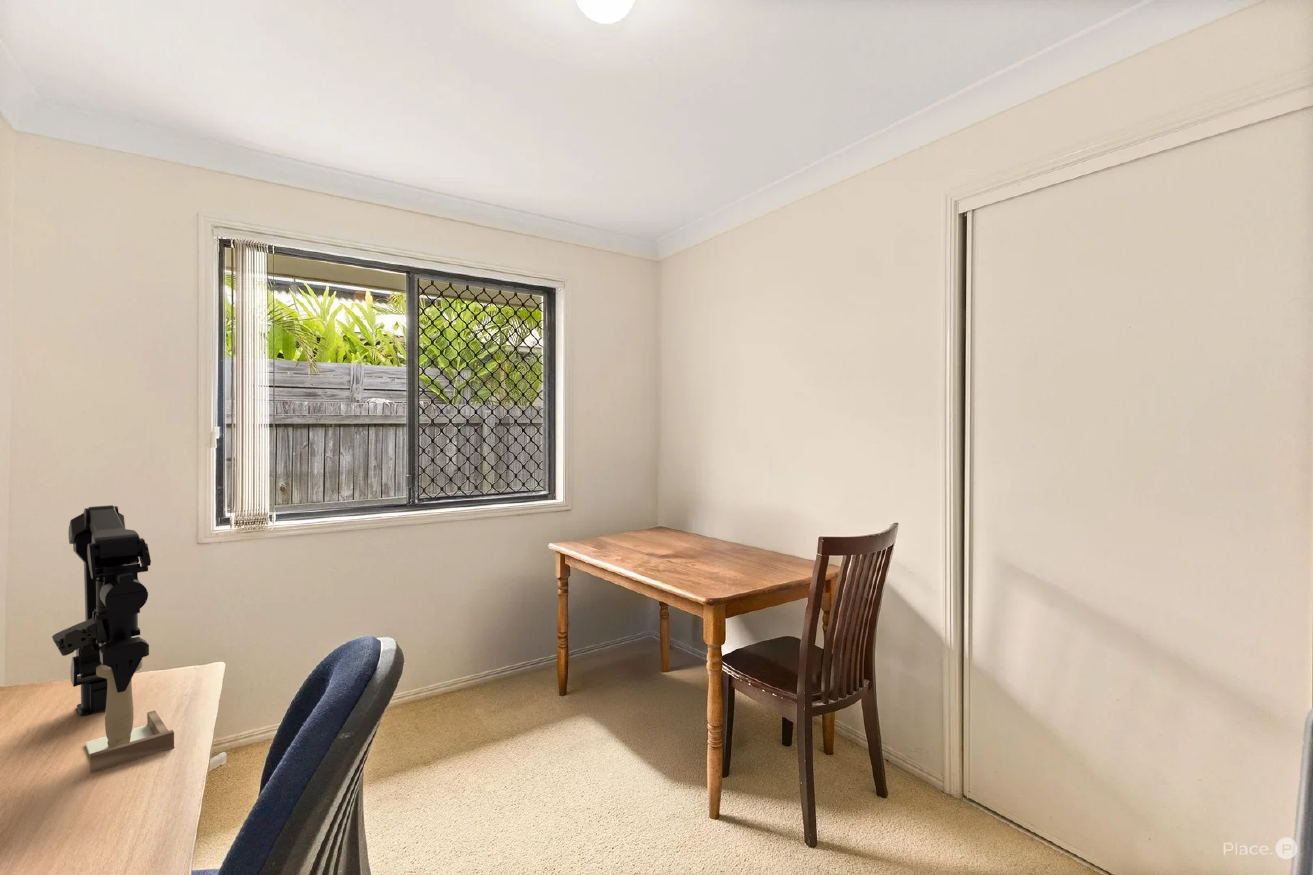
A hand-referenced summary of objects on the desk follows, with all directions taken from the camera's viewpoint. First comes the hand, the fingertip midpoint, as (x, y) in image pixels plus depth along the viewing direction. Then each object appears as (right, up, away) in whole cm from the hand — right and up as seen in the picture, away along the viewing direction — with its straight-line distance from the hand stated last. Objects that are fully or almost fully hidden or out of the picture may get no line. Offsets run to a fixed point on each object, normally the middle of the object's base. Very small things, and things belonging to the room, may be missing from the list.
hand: (118, 686), depth 113 cm
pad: (0, -12, +1) cm, 12 cm away
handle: (0, -11, 0) cm, 11 cm away
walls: (0, -12, +1) cm, 12 cm away
